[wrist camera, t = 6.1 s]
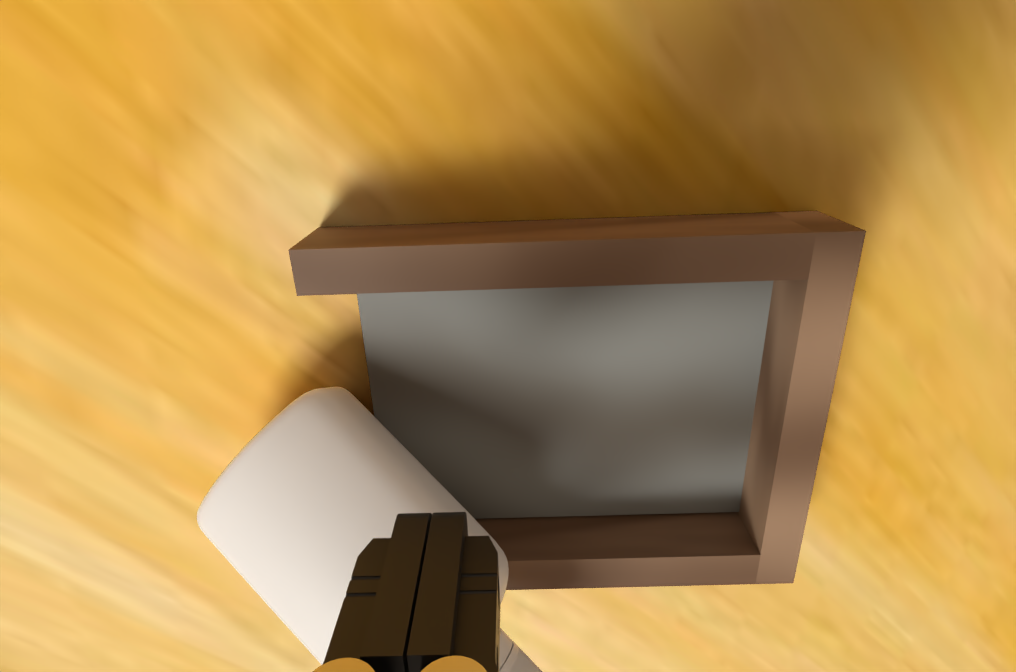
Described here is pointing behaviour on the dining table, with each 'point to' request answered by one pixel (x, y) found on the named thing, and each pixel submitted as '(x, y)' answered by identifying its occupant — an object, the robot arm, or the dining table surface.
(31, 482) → the dining table surface
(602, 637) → the dining table surface
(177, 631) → the dining table surface
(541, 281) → the u rest
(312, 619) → the eye dropper bottle
